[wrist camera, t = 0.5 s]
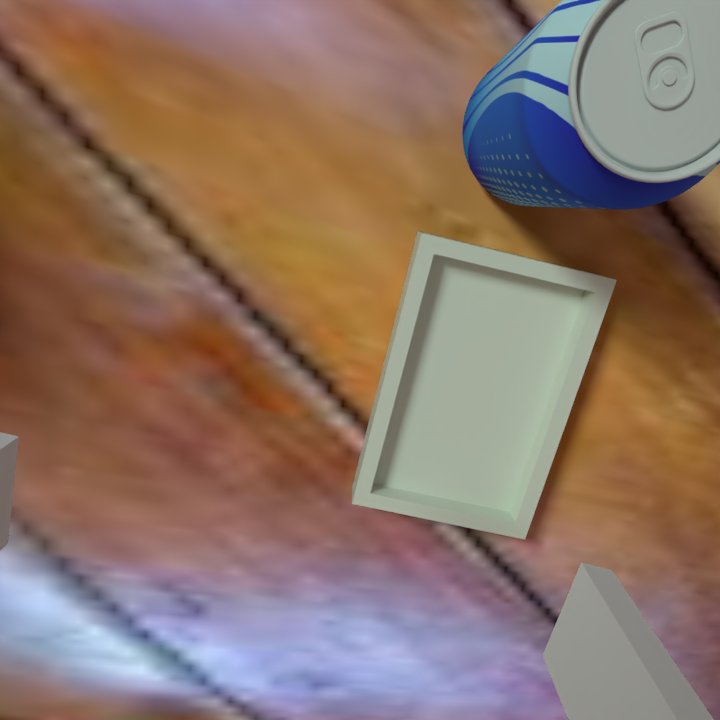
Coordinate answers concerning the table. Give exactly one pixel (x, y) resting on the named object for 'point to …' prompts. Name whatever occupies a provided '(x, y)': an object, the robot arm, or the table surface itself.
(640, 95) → the beer can
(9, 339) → the table surface
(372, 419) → the tray
